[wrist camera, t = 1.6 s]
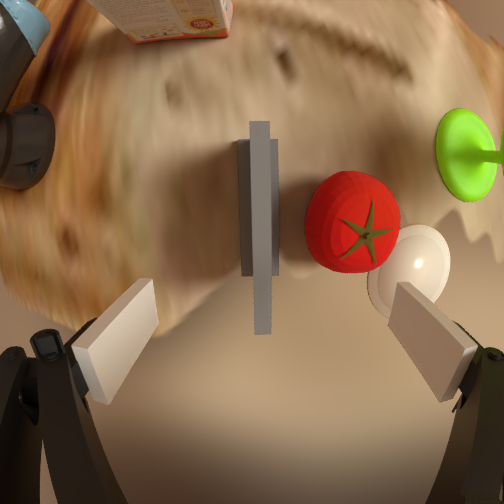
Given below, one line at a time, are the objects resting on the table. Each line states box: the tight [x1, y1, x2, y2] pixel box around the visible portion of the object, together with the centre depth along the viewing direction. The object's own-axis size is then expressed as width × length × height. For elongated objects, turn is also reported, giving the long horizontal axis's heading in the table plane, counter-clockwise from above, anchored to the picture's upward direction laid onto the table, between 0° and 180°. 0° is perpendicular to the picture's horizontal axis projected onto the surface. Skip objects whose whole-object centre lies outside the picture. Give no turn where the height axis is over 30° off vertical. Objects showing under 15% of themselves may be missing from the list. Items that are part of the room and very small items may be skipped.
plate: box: [367, 224, 450, 319], centre depth 38 cm, size 16×16×1 cm
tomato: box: [304, 171, 400, 273], centre depth 31 cm, size 11×12×10 cm
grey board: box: [237, 121, 279, 335], centre depth 29 cm, size 18×5×15 cm, turn 1°
